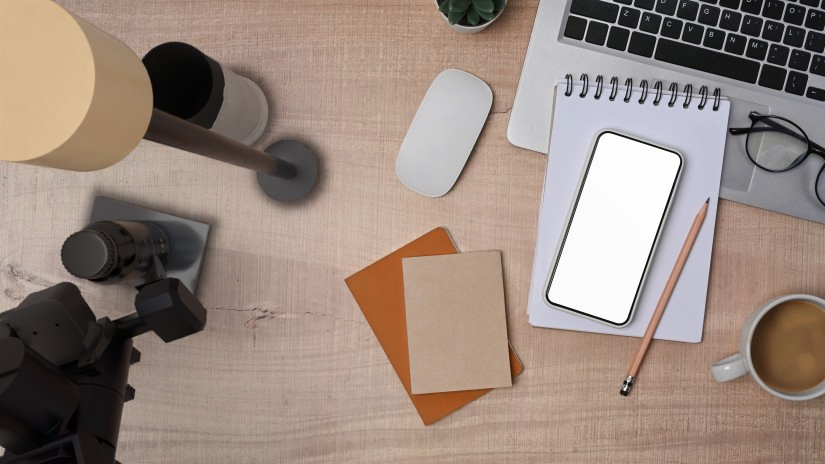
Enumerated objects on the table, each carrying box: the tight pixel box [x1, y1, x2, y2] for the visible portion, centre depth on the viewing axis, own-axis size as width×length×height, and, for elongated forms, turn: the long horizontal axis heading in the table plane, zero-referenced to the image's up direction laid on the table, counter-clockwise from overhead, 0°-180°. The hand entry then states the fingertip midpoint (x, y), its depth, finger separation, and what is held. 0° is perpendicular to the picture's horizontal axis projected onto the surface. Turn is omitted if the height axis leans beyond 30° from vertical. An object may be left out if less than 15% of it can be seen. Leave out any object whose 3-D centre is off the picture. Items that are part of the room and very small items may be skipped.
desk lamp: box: [0, 0, 321, 203], centre depth 48 cm, size 7×7×46 cm
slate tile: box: [88, 195, 212, 297], centre depth 71 cm, size 9×14×1 cm, turn 76°
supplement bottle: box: [60, 220, 170, 286], centre depth 65 cm, size 7×7×12 cm
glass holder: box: [140, 41, 270, 146], centre depth 63 cm, size 9×14×15 cm, turn 84°
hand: (114, 271), depth 63 cm, fingers open, 9 cm apart
